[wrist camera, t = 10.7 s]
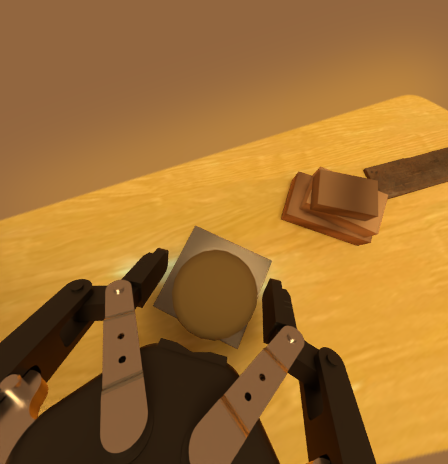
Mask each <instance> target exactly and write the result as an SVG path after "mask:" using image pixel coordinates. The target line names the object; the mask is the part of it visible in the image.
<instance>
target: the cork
mask: <svg viewBox="0 0 448 464" xmlns="http://www.w3.org/2000/svg"><path fill="white" fill-rule="evenodd" d="M257 293H258V291H257V286H256V281H255V277H254V276H253V274H252V272H251V270H250V268H249V266H248V265H247V264H246V263H245V262H244V261H243V260H242V259H240V258H239V257H238V256H236V255H234V254H232V253H230V252H228V251H221V250H209V251H203V252H201V253H199V254H197V255H195V256H193V257H191V258H190V259H189V260H188V261H187V262H186V263H185V264H184V265H183V266H182V267H181V269H180V270H179V272H178V274H177V276H176V278H175V280H174V285H173V290H172V300H173V308H174V311H175V313H176V315H177V318H178V320H179V321H180V323H181V324H182V325H183V326H184V327H185V328H186V329H187V331H189V332H190V333H192V334H194V335H196V336H198V337H199V338H203V339H209V340H219V339H225V338H229V337H231V336H232V335H234V334H236V333H237V332H239V331H241V330H242V329H243V327H244V326H245V325H246V324H247V323H248V322H249V321H250V319H251V317H252V315H253V312H254V310H255V307H256V303H257Z"/></svg>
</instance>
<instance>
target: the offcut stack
mask: <svg viewBox="0 0 448 464" xmlns="http://www.w3.org/2000/svg"><path fill="white" fill-rule="evenodd" d="M387 198H388V195H387V194H385V193H382V192H380V191H378V181H377V180H372V179H367V178H362V177H357V176H352V175H347V174H342V173H337V172H332V171H330V170H328V169H325V168H323V167H320V168H319V169H318V170H317V171H316V172H315V173H314V174H313V176H311V175H308V174H305V173H302V172H298V173H297V174H296V176H295V177H294V178H293V180H292V183H291V187H290V190H289V193H288V197H287V200H286V204H285V207H284V210H283V214H282V217H281V219H282V220H285V221H288V222H291V223H294V224H297V225H299V226H302V227H305V228H308V229H311V230H314V231H317V232H320V233H323V234H325V235H328V236H331V237H334V238H337V239H340V240H343V241H346V242H349V243H351V244H354V245H357V246H359V245H363V244H367V243H371V239H372V236H373V235H376V234H378V232H379V228H380V225H381V221H382V217H383V213H384V209H385V206H386V202H387Z"/></svg>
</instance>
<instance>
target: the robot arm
mask: <svg viewBox="0 0 448 464" xmlns="http://www.w3.org/2000/svg"><path fill="white" fill-rule="evenodd" d="M167 266H168V250H165V249H161V248H157V249H156V251H155V252H154V253H150V252H149V253H148V254H146V255H144V256H143V257H142V258H141V259H140V260H139V261H138V262H137V263H136V265H134V266H133V268H132V269H131V270H130V271H129V272H128V273H127V274H126V275H125V276H124V277H123V278H122V279H121V280H117V281H114V282H112V283H110V284H109V285H108V286H92V283H91V282H90V281H89V280H86V279H79V280H75V281H72V282H70V283H68V284H67V285H66V286H65V287H63V288H62V289H61V290H60V291H59V292H58V293H57V294H55V295H54V296H53V297H52V298H51V299H50V300H49V301H47V302H46V303H45V304H44V305H43V306H42V307H41V308H39V309H38V310H37V311H36V312H35V313H34V314H33V315H31V316H30V317H29V318H28V319H27V320H26V321H25V322H23V323H22V324H21V325H20V326H19V327H18V328H17V329H15V330H14V331H13V332H12V333H11V334H10V335H9V336H7V337H6V338H5V339H4V340H3V341H2V342H1V343H0V464H280V463H279V460H278V458H277V456H276V454H275V451H274V449H273V447H272V445H271V443H270V440H269V438H268V436H267V434H266V432H265V429H264V427H263V425H262V423H261V421H260V418H259V417H260V415H261V414H262V412H263V411H264V409H265V408H266V406H267V404H268V403H269V401H270V400H271V398H272V397H273V395H274V393H275V392H276V390H277V389H278V387H279V386H280V384H281V383H282V381H283V379H284V378H285V376H286V375H287V373H289V374H290V375H292V376H293V377H295V378H296V379H298V380H299V384H300V393H301V401H302V409H303V418H304V426H305V435H306V443H307V451H308V460H309V462H308V463H306V464H376V461H375V458H374V455H373V452H372V449H371V446H370V442H369V439H368V436H367V433H366V430H365V427H364V424H363V421H362V418H361V415H360V412H359V409H358V405H357V402H356V399H355V396H354V393H353V390H352V387H351V384H350V381H349V378H348V375H347V372H346V368H345V365H344V363H343V361H342V359H341V358H340V356H339V355H338V354H337V353H336V352H335V351H333V350H332V349H330V348H327V347H323V348H321V349H320V350H319V349H317V348H315V347H314V346H312V345H310V344H309V343H307V342H306V341H305V340H304V338H303V336H302V334H301V333H300V332H299V331H298V330H297V327H296V322H295V317H294V312H293V309H292V308H293V307H292V304H291V297H290V295H289V293H288V292H287V290H285V289H282V284H281V281H279V280H275V279H271V278H270V280H269V282H268V284H267V286H266V288H265V290H264V293H263V297H262V308H263V341H264V343H266V344H268V346H267V347H266V348H264V349H263V350H262V351H261V352H260V353H259V355H258V356H257V357H256V358H255V359H254V360H253V361H252V363H251V364H250V365H249V366H248V367H247V368H246V370H245V371H244V372H243V373H242V374H241V375H240V376H239V374H238V373H237V372H236V370H235V369H234V368H233V367H232V366H230V365H229V364H228V363H227V357H225V356H222V355H218V354H215V353H211V352H191V351H189V350H188V349H186V348H185V347H183V346H182V345H180V344H178V343H177V342H173V341H170V340H166V339H163V338H161V339H160V341H159V343H154V344H149V345H146V346H143V347H141V348H140V347H139V339H138V331H137V324H136V316H135V309H136V307H141V308H143V306H144V305H145V303H146V301H147V300H148V298H149V297H150V295H151V294H152V292H153V291H154V289H155V288H156V286H157V285H158V283H159V282H160V280H161V278H162V277H163V275H164V274H165V272H166V270H167ZM103 320H104V322H103V373H101V374H100V375H98V376H97V377H95V378H94V379H92V380H91V381H89V382H88V383H86V384H85V385H83V386H82V387H80V388H79V389H77V390H76V391H74V392H73V393H71V394H70V395H68V396H67V397H65V398H64V399H62V400H61V401H59V402H58V403H56V404H55V405H53V406H52V407H50V408H49V409H47V410H46V411H45V412H43V413H42V414H41V415H40V416H39V417H38V413H39V410H40V407H41V405H42V404H43V402H44V400H45V399H46V397H47V394H48V385H47V382H48V380H49V379H50V378H51V376H52V375H53V374H54V373H55V371H56V370H57V369H58V367H59V366H60V365H61V364H62V362H63V361H64V360H65V358H66V357H67V356H68V355H69V353H70V352H71V351H72V349H73V348H74V347H75V346H76V344H77V343H78V342H79V341H80V339H81V338H82V337H83V335H84V334H85V333H86V332H87V330H88V329H89V328H90V326H91V325H92V324H93V323H94V321H103Z"/></svg>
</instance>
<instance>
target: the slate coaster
mask: <svg viewBox="0 0 448 464" xmlns="http://www.w3.org/2000/svg"><path fill="white" fill-rule="evenodd" d="M209 250H221V251H228V252H230V253H232V254H234V255H236V256H238V257H239V258H240V259H242V260H243V261H244V262H245V263H246V264H247V265H248V266H249V268H250V270H251V272H252V274H253V276H254V277H255V281H256V286H257V291H258V293H257V298H258V296H259V293H260V290H261V288H262V285H263V283H264V280H265V278H266V275H267V272H268V270H269V267H270V265H271V262H272V261H271V260H269V259H267V258H265V257H263V256H260V255H258V254H256V253H254V252H252V251H249V250H247V249H245V248H243V247H241V246H239V245H236V244H234V243H232V242H230V241H228V240H225V239H223V238H221V237H219V236H217V235H215V234H212V233H210V232H208V231H206V230H204V229H202V228H199V227H197V226H195V228H194V229H193V231H192V233H191V235H190V237H189V239H188V241H187V243H186V245H185V246H184V248H183V250H182V252H181V254H180V256H179V258H178V260H177V262H176V263H175V265H174V267H173V269H172V271H171V273H170V275H169V277H168V279H167V280H166V282H165V284H164V286H163V288H162V290H161V292H160V294H159V296H158V297H157V299H156V301H155V303H154V305H153V306H154V307H156V308H158V309H160V310H162V311H164V312H166V313H168V314H170V315H172V316H174V317H175V318H177V315H176V313H175V311H174V308H173V300H172V290H173V285H174V280H175V278H176V276H177V274H178V272H179V270H180V269H181V267H182V266H183V265H184V264H185V263H186V262H187V261H188V260H189V259H190V258H191V257H193V256H195V255H197V254H199V253H201V252H203V251H209ZM177 319H178V318H177ZM247 324H248V323H247ZM247 324H246V325H245V326H244V327H243V329H242V330H241V331H239V332H237V333H236V334H234V335H232V336H231V337H229V338H225V339H219V340H221V341H223V342H225V343H226V344H228V345H230V346H232V347H234V348H236V349H238V347H239V344H240V342H241V339H242V337H243V334H244V332H245V329H246V326H247Z"/></svg>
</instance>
